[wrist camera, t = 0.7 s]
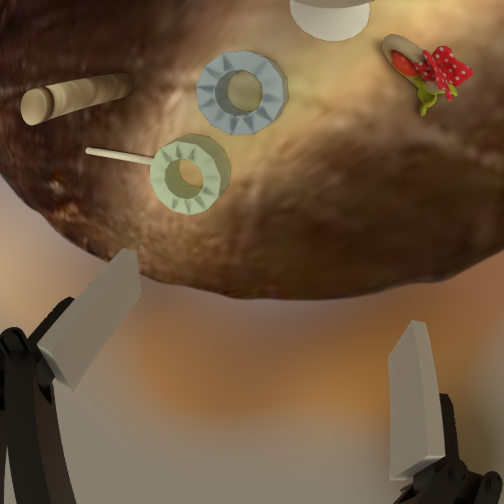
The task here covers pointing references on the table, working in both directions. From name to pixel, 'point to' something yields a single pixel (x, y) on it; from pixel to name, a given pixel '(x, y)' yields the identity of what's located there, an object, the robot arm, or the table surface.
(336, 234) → the table surface
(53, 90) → the wooden dowel
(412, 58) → the red green lumpy piece
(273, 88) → the blue bead
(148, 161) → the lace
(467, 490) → the robot arm
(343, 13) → the wineglass
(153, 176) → the bead
